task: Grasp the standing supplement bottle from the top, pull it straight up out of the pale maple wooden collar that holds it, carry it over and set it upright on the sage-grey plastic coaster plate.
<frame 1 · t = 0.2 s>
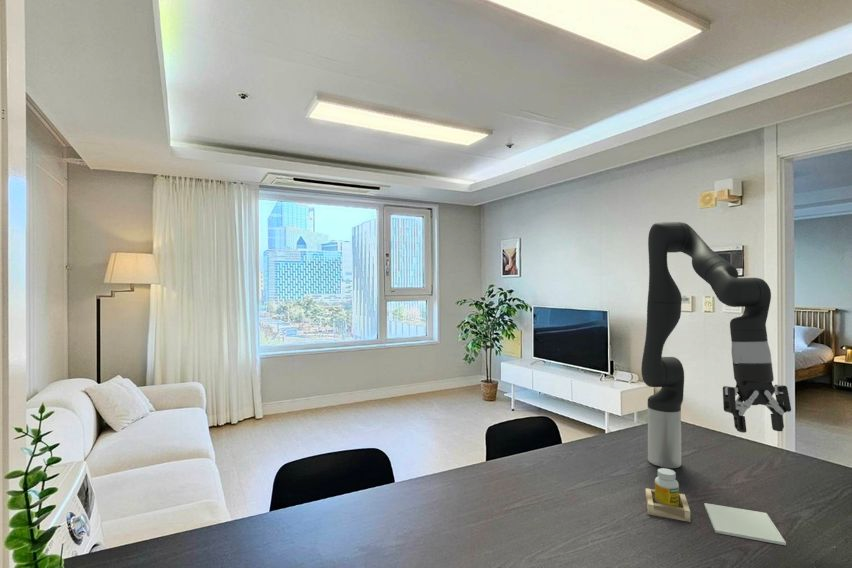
hand: (759, 431, 102), 22 cm above the table, tool pointing down, fingers open, 8 cm apart
collar: (666, 509, 110), on the table
supplement bottle: (666, 509, 110), resting in collar
coaster plate: (741, 523, 103), on the table
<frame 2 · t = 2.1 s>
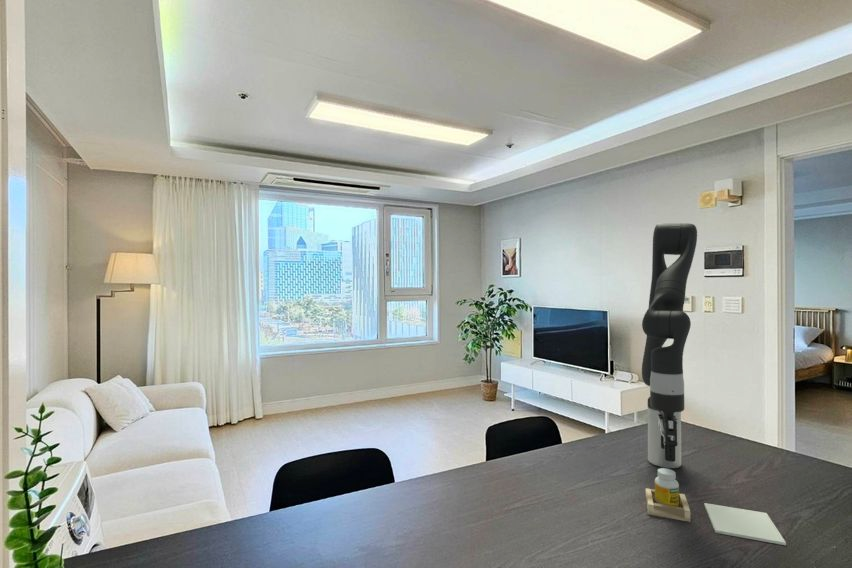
hand: (667, 454, 110), 14 cm above the table, tool pointing down, fingers open, 8 cm apart
nothing on the table moved.
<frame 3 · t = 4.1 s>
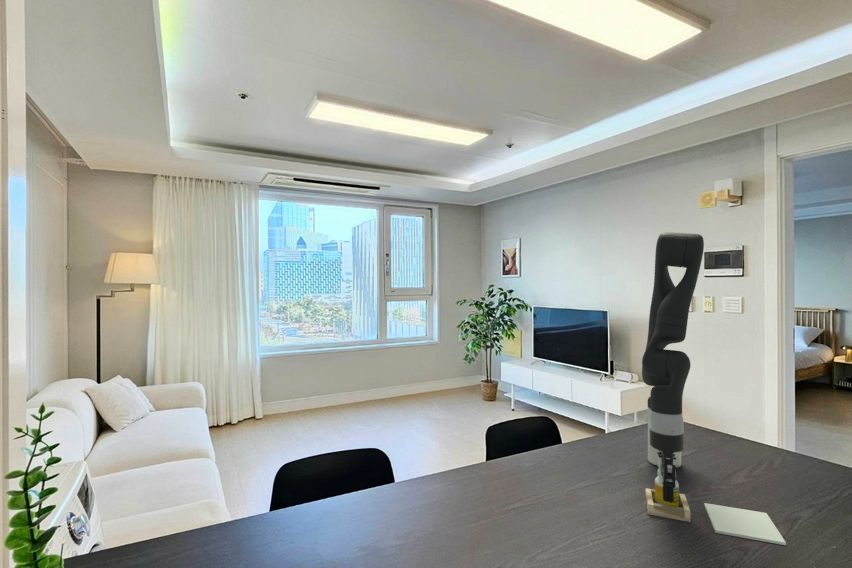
hand: (666, 495, 110), 3 cm above the table, tool pointing down, fingers closed on supplement bottle, 5 cm apart
supplement bottle: (666, 509, 110), resting in collar, touching gripper
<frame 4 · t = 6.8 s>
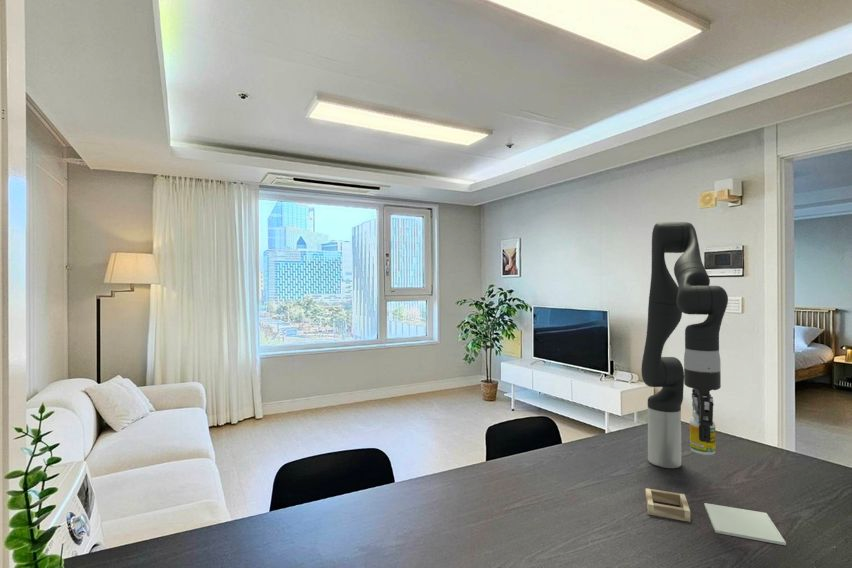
hand: (702, 436, 107), 20 cm above the table, tool pointing down, fingers closed on supplement bottle, 5 cm apart
supplement bottle: (702, 451, 107), point 16 cm above the table, touching gripper
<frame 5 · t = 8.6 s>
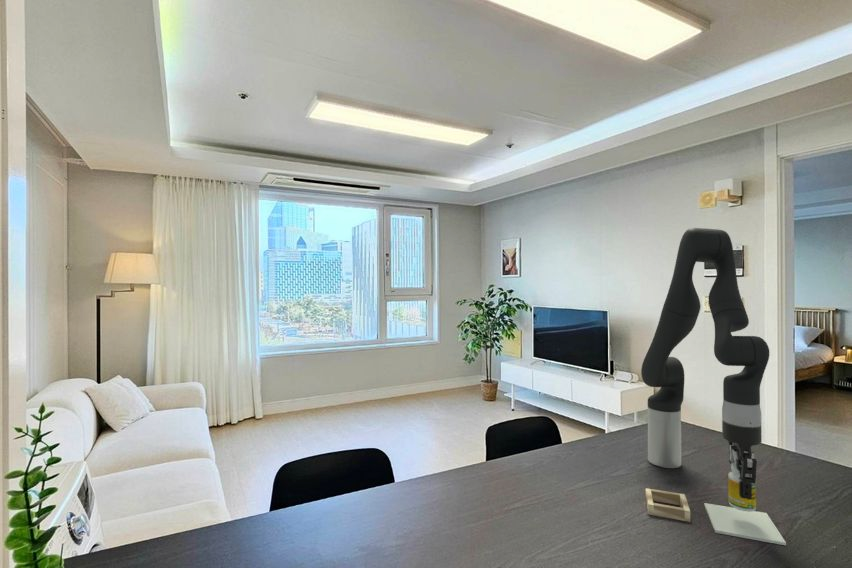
hand: (741, 491, 103), 8 cm above the table, tool pointing down, fingers closed on supplement bottle, 5 cm apart
supplement bottle: (742, 507, 103), point 4 cm above the table, touching gripper
when the fingers open (5 cm above the table, at t = 9.8 s): supplement bottle drops 1 cm, resting on coaster plate.
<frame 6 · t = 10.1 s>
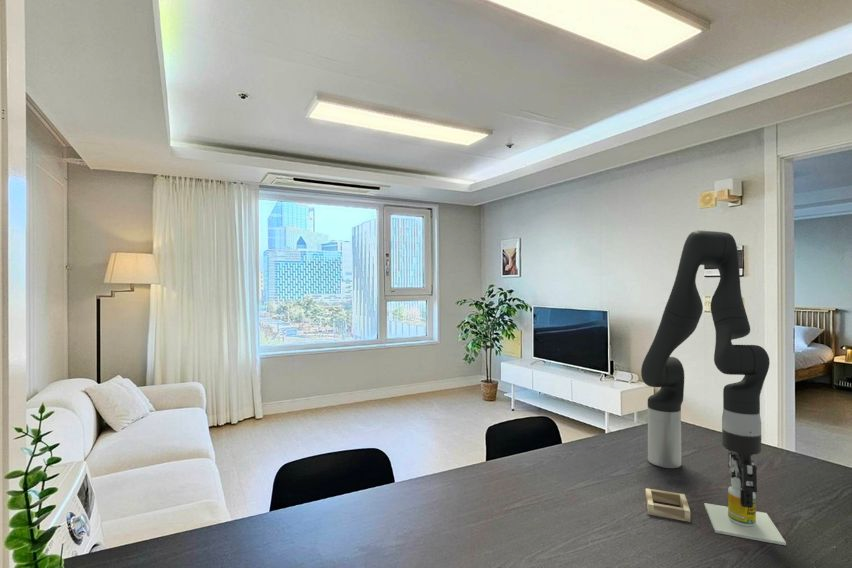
hand: (741, 498, 103), 6 cm above the table, tool pointing down, fingers open, 7 cm apart
supplement bottle: (741, 521, 103), resting on coaster plate
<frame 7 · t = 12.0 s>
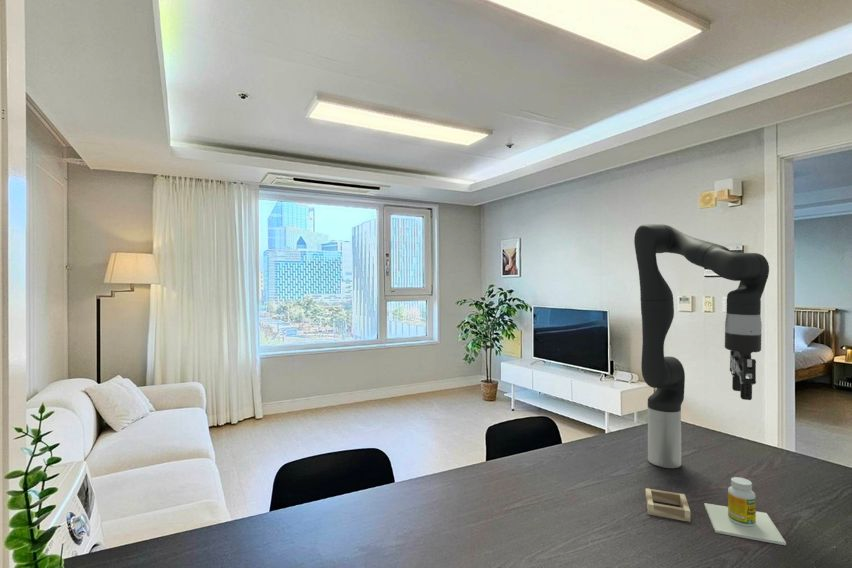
hand: (741, 394, 112), 28 cm above the table, tool pointing down, fingers open, 8 cm apart
nothing on the table moved.
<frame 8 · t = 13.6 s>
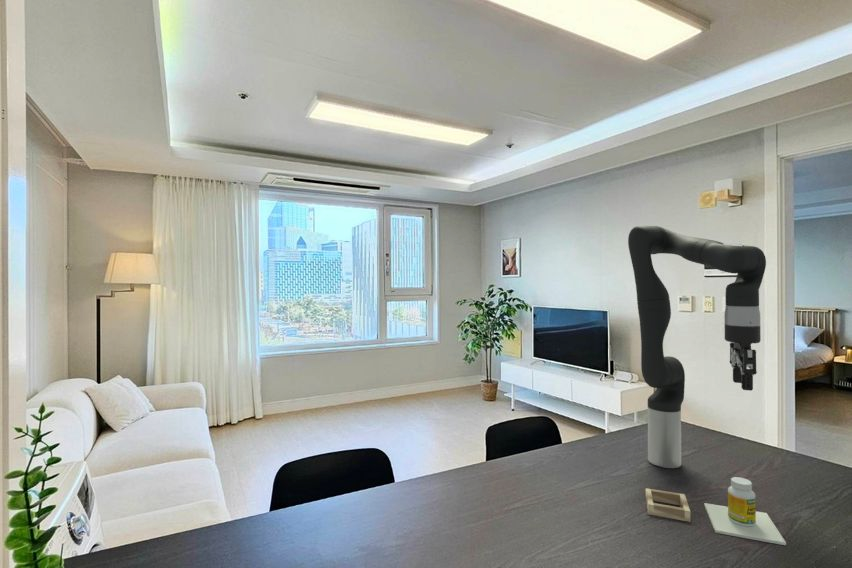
hand: (742, 386, 113), 30 cm above the table, tool pointing down, fingers open, 8 cm apart
nothing on the table moved.
at the end: supplement bottle inside the target area on the coaster plate (0.1 cm from its centre), point 0.4 cm above the coaster plate's base; supplement bottle tilted 0°; the gripper is holding nothing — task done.
